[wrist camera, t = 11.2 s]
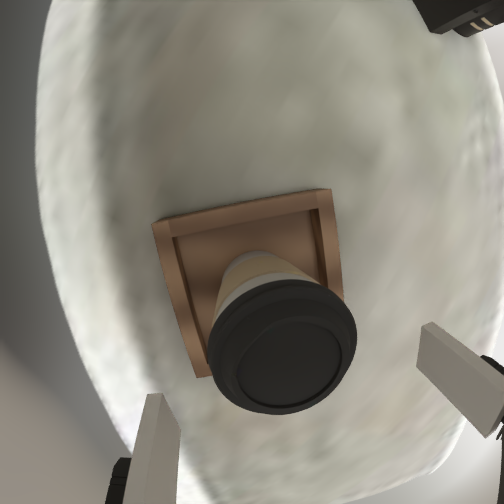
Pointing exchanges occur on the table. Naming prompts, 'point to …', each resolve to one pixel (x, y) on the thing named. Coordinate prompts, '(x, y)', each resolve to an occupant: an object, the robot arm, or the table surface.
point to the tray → (239, 242)
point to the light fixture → (460, 15)
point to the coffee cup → (277, 336)
